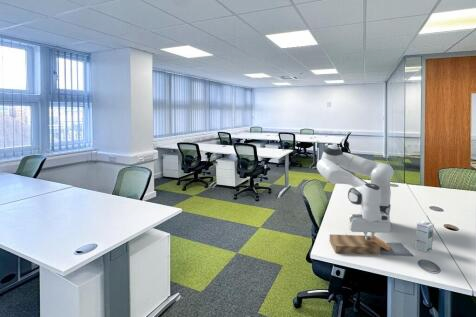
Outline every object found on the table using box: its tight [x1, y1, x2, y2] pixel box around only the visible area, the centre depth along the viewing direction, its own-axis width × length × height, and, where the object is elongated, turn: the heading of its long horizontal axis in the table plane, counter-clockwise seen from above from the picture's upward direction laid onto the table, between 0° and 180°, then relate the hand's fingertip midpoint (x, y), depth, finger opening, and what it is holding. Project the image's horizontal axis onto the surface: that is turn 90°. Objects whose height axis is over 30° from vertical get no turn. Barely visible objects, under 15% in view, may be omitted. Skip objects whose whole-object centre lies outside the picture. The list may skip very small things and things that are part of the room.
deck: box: [329, 233, 381, 256], centre depth 153 cm, size 22×14×4 cm, turn 85°
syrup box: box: [414, 220, 435, 253], centre depth 150 cm, size 6×6×14 cm
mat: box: [379, 242, 415, 257], centre depth 151 cm, size 16×14×1 cm
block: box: [372, 235, 390, 251], centre depth 151 cm, size 9×6×2 cm
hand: (368, 239), depth 152 cm, fingers closed
